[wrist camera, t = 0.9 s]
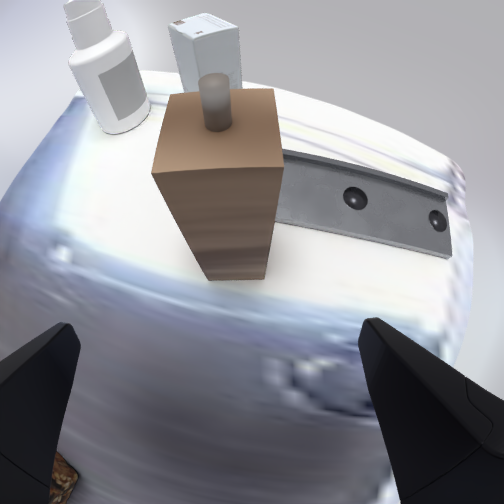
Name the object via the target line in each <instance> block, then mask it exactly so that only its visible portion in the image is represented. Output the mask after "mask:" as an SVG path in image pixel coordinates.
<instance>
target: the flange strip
mask: <svg viewBox="0 0 504 504" xmlns="http://www.w3.org/2000/svg"><path fill="white" fill-rule="evenodd" d="M282 153H283V161H284V171H283V177H282V183H281V189H280V194H279V200H278V206H277V212H276V217H275V221H276V222H281V223H286V224H291V225H297V226H302V227H307V228H312V229H317V230H322V231H327V232H332V233H337V234H342V235H346V236H351V237H356V238H360V239H365V240H370V241H374V242H379V243H383V244H387V245H392V246H396V247H401V248H405V249H409V250H413V251H418V252H422V253H426V254H430V255H434V256H438V257H442V258H446V259H449V258H450V257H452V246H451V236H450V227H449V219H448V212H447V206H446V200H447V199H448V193H445V192H443V191H440V190H437V189H434V188H432V187H429V186H426V185H423V184H420V183H417V182H414V181H411V180H408V179H405V178H401V177H398V176H395V175H391V174H388V173H385V172H381V171H378V170H374V169H370V168H367V167H363V166H359V165H355V164H351V163H347V162H343V161H339V160H335V159H330V158H326V157H321V156H317V155H312V154H307V153H302V152H297V151H291V150H286V149H282Z"/></svg>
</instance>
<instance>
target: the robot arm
mask: <svg viewBox="0 0 504 504" xmlns="http://www.w3.org/2000/svg"><path fill="white" fill-rule="evenodd" d="M358 347H359V351H360V355H361V359H362V364H363V368H364V373H365V378H366V382H367V387H368V390H369V394H370V397H371V400H372V403H373V406H374V409H375V412H376V415H377V418H378V422H379V425H380V428H381V431H382V435H383V438H384V441H385V445H386V448H387V452H388V455H389V459H390V463H391V466H392V470H393V474H394V478H395V482H396V486H397V490H398V494H399V498H400V501H401V502H400V503H401V504H504V400H502V399H500V398H498V397H497V396H495V395H493V394H492V393H490V392H488V391H487V390H485V389H484V388H482V387H480V386H479V385H478V384H476V383H475V382H473V381H471V380H470V379H469V378H467V377H465V376H464V375H463V374H461V373H460V372H458V371H457V370H456V369H454V368H453V367H451V366H450V365H448V364H447V363H445V362H444V361H442V360H441V359H439V358H438V357H436V356H435V355H434V354H432V353H431V352H429V351H428V350H426V349H425V348H423V347H422V346H420V345H419V344H417V343H416V342H414V341H413V340H411V339H410V338H408V337H407V336H405V335H404V334H402V333H401V332H399V331H398V330H396V329H395V328H393V327H392V326H390V325H389V324H387V323H386V322H384V321H383V320H381V319H380V318H377V317H375V318H367V319H365V320H364V322H363V325H362V328H361V332H360V336H359V339H358ZM80 349H81V344H80V341H79V339H78V337H77V335H76V333H75V331H74V328H73V326H72V325H71V324H70V323H64V322H60V323H58V324H56V325H55V326H53V327H51V328H50V329H48V330H47V331H45V332H44V333H42V334H41V335H39V336H37V337H36V338H34V339H33V340H31V341H30V342H28V343H27V344H25V345H24V346H22V347H21V348H19V349H18V350H16V351H15V352H13V353H12V354H10V355H9V356H8V357H6V358H5V359H3V360H2V361H0V504H49V497H50V487H51V479H52V472H53V466H54V460H55V455H56V450H57V445H58V440H59V435H60V431H61V427H62V422H63V418H64V414H65V411H66V407H67V403H68V400H69V396H70V393H71V389H72V385H73V380H74V375H75V371H76V366H77V362H78V357H79V353H80Z"/></svg>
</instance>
